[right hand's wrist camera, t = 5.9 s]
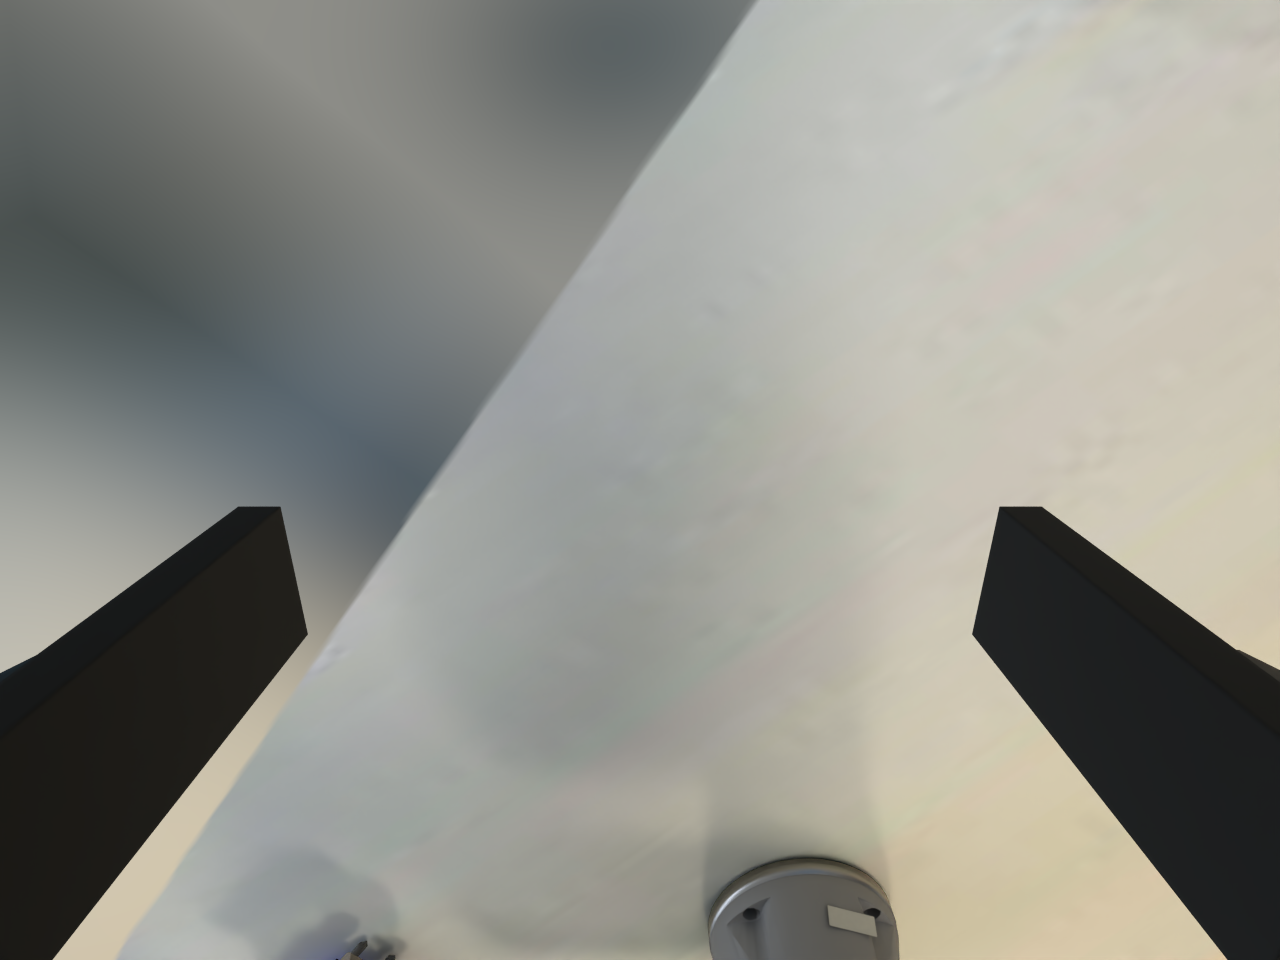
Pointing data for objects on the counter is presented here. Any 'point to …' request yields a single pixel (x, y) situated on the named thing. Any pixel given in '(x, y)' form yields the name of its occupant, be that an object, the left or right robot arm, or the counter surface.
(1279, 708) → the right robot arm
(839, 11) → the counter surface
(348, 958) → the figurine character
